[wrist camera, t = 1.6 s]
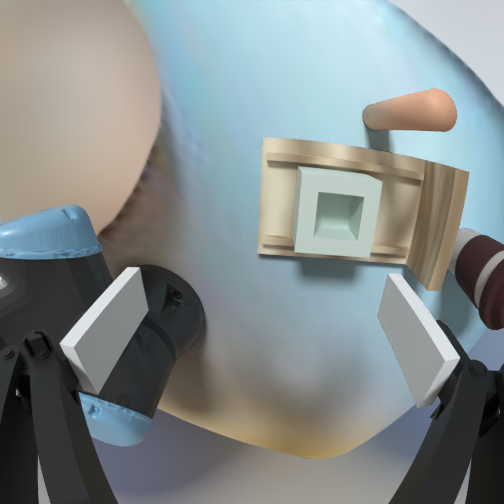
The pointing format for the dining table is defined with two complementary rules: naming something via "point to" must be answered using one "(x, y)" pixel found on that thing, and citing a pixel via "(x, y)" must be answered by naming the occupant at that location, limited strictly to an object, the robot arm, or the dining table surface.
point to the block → (335, 212)
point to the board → (390, 207)
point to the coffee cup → (480, 274)
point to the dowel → (413, 112)
